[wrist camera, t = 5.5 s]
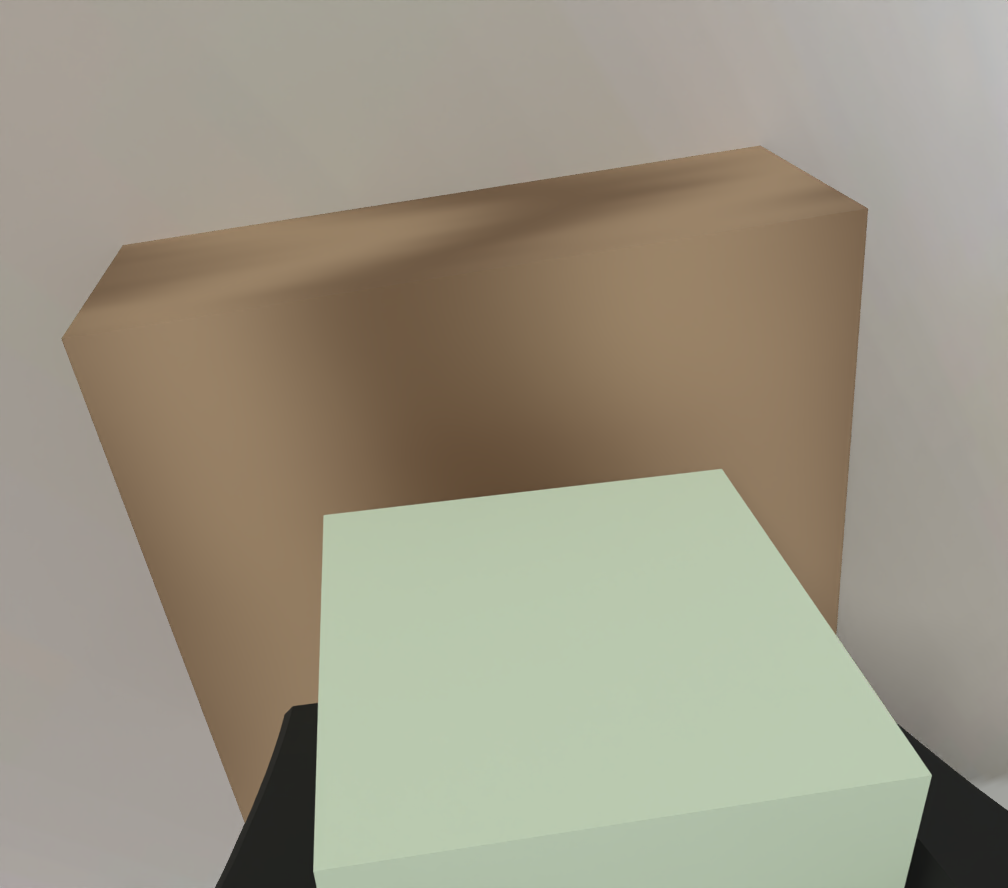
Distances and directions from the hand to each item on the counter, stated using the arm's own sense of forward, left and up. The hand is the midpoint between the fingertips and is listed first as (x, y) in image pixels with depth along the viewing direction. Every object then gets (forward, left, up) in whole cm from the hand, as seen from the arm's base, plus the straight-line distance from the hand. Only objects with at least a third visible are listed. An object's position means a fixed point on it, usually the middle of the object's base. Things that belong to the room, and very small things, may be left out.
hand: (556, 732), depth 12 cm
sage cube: (0, 0, -2) cm, 2 cm away
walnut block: (0, 0, -7) cm, 7 cm away
